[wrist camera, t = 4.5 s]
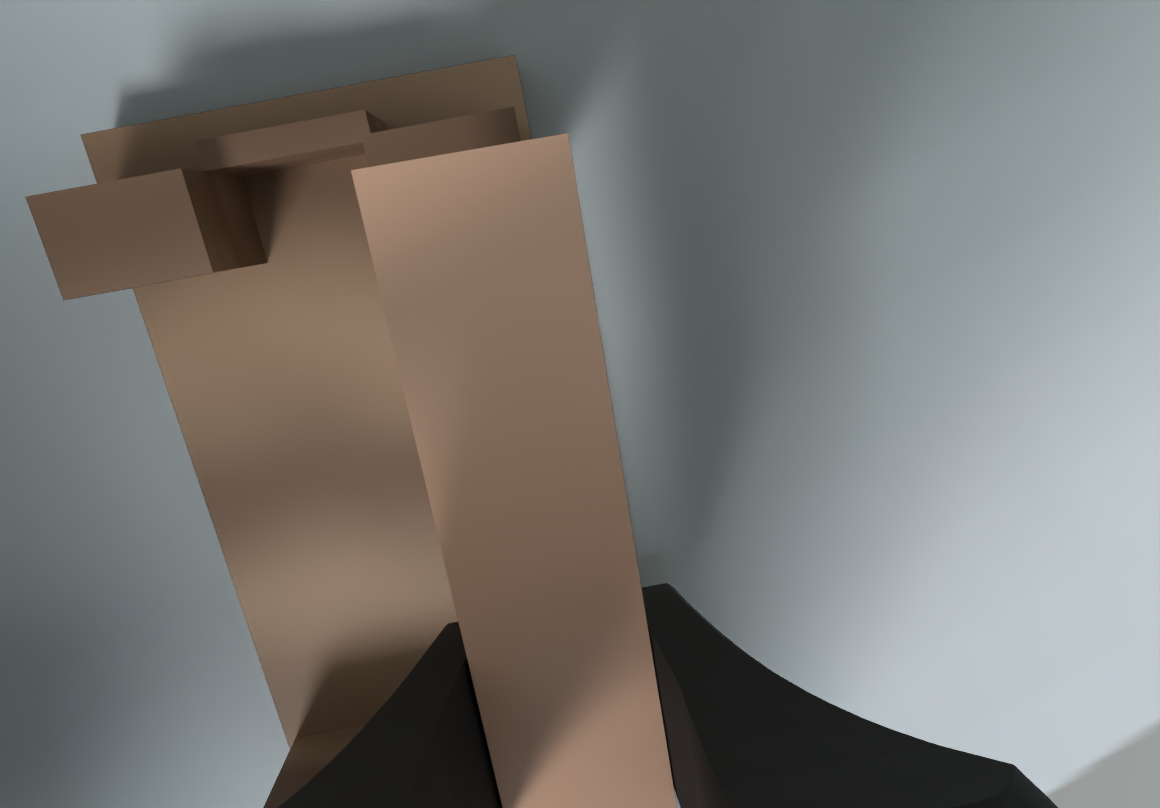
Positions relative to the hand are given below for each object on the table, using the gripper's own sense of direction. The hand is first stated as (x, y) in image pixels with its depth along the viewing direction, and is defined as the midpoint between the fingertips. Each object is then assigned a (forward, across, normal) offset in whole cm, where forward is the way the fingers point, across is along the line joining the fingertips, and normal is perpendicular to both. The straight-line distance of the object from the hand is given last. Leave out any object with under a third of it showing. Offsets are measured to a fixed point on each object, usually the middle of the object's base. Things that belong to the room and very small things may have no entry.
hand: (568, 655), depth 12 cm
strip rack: (+9, +4, -1) cm, 9 cm away
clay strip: (+2, 0, 0) cm, 2 cm away
